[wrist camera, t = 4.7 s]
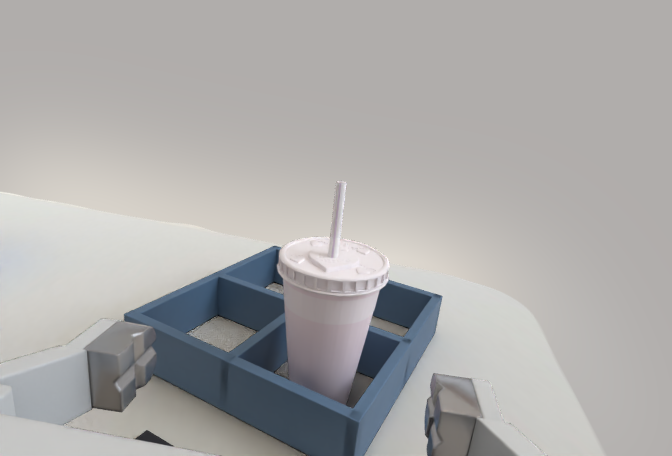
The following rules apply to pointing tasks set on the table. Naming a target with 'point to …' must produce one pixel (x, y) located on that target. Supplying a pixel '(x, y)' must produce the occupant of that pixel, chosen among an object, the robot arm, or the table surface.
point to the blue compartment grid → (283, 356)
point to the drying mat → (152, 438)
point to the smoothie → (329, 305)
